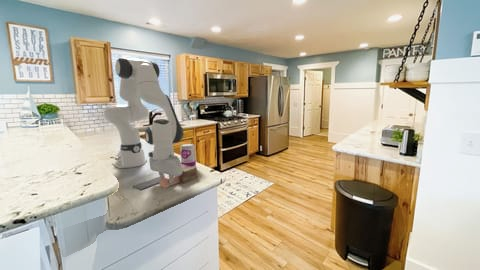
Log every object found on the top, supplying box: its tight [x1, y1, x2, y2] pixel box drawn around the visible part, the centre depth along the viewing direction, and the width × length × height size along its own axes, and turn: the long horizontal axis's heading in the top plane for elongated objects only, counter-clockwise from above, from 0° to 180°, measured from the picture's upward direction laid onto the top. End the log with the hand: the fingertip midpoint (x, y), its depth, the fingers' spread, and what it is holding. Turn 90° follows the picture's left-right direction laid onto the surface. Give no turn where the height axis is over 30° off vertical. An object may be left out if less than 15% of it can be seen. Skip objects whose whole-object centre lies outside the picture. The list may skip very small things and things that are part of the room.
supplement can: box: [179, 143, 197, 167], centre depth 125 cm, size 8×8×15 cm
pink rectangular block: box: [159, 175, 181, 189], centre depth 107 cm, size 4×14×4 cm, turn 145°
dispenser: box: [179, 164, 198, 184], centre depth 112 cm, size 11×9×6 cm
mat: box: [132, 176, 161, 191], centre depth 107 cm, size 7×16×1 cm, turn 145°
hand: (166, 181), depth 104 cm, fingers closed on pink rectangular block, 4 cm apart
